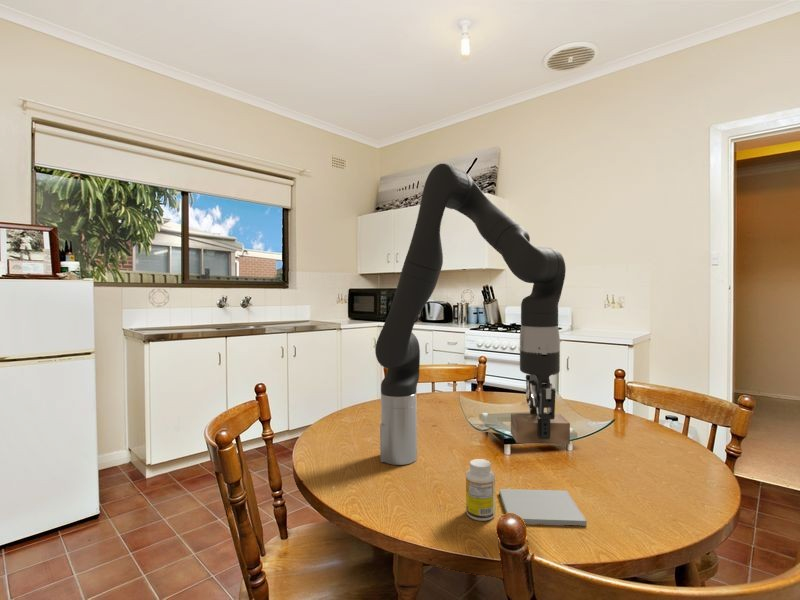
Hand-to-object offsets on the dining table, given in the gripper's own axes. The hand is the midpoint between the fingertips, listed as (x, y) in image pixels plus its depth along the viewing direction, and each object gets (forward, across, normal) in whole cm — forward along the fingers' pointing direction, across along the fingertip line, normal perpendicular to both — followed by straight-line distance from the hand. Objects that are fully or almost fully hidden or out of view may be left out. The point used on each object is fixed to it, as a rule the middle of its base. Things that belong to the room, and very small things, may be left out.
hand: (539, 432), depth 86 cm
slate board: (+15, 0, 0) cm, 15 cm away
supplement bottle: (+15, +3, -12) cm, 20 cm away
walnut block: (+1, 0, 0) cm, 1 cm away
